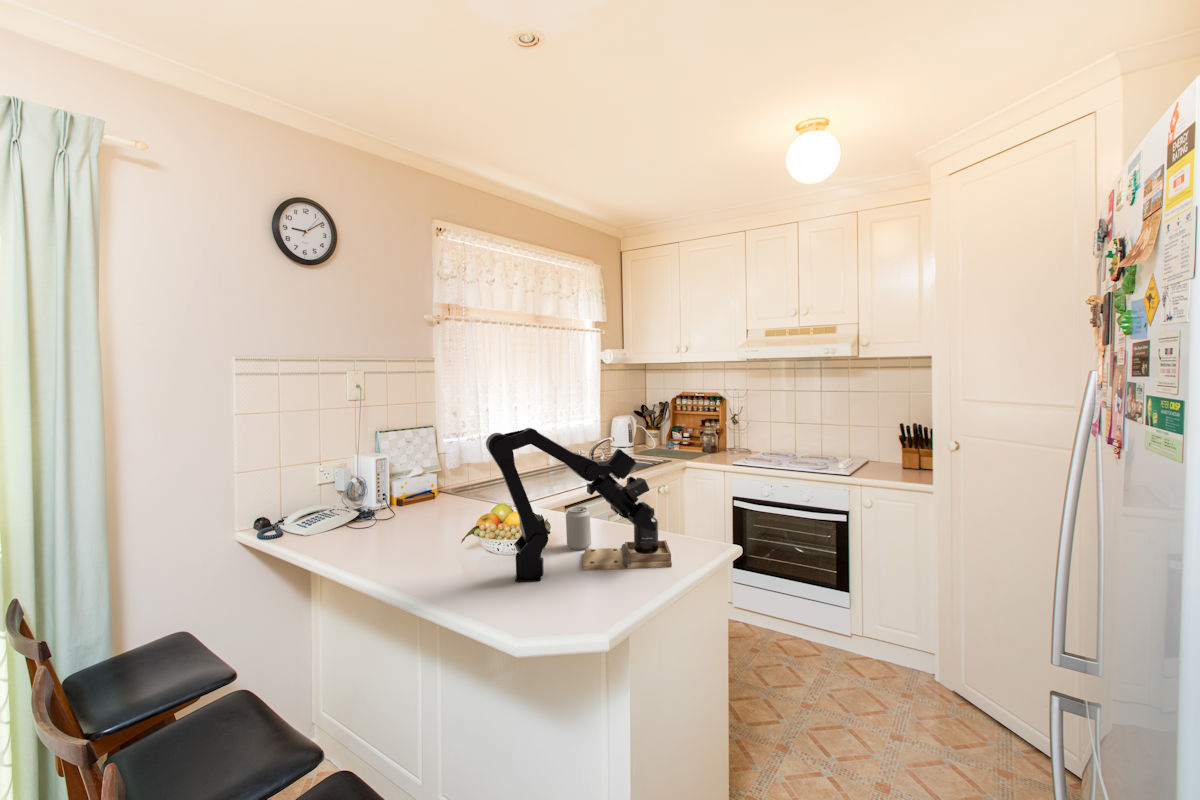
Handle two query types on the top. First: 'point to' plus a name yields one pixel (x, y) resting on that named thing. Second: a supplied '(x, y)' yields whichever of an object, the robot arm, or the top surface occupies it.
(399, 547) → the top surface
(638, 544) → the supplement bottle
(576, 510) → the can
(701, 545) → the top surface
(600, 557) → the hinge jig
